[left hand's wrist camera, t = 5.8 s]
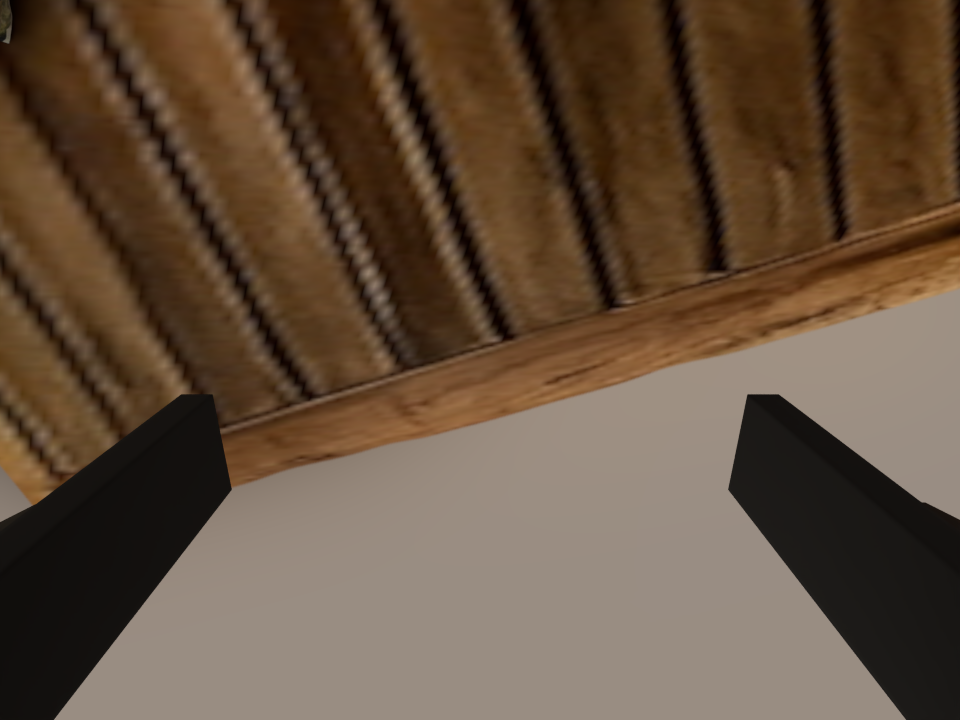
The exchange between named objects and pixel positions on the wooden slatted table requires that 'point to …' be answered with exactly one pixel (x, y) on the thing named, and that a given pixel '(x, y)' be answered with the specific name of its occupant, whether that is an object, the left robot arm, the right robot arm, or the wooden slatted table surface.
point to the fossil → (5, 21)
